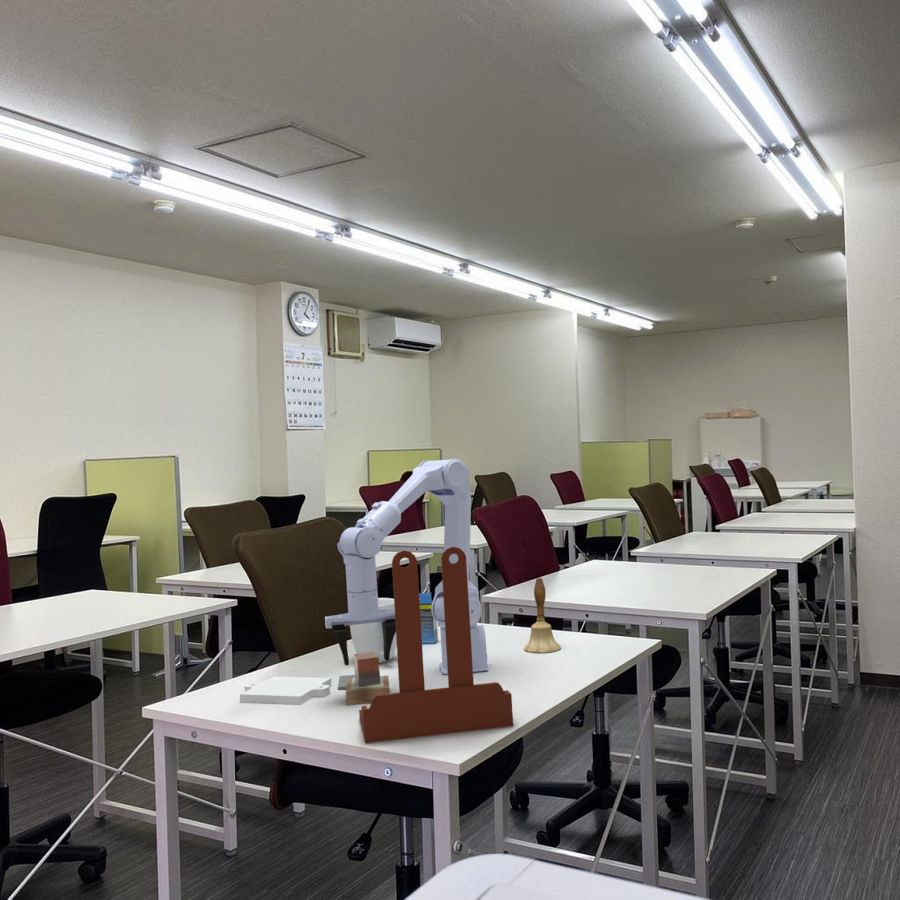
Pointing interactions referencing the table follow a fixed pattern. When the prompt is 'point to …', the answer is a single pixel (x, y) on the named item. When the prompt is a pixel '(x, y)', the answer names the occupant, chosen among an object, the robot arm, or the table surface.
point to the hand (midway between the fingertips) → (366, 661)
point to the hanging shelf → (415, 705)
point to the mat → (344, 681)
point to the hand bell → (541, 626)
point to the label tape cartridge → (427, 620)
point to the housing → (367, 669)
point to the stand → (365, 691)
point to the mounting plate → (286, 690)
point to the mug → (373, 634)
